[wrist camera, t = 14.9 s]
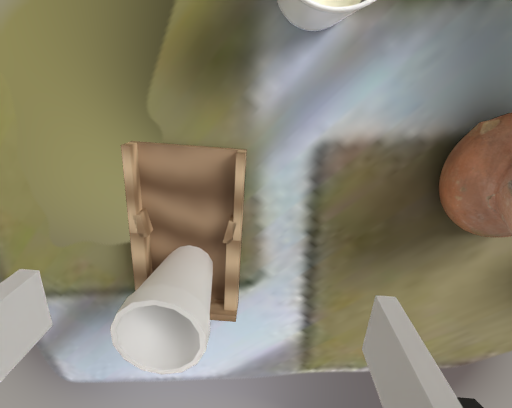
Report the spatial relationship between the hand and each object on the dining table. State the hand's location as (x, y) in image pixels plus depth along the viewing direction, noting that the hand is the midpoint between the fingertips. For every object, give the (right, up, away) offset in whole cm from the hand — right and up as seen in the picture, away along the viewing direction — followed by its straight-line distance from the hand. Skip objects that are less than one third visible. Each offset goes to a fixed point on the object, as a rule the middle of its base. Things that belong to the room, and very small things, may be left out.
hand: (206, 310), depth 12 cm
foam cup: (-7, -4, +29) cm, 30 cm away
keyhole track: (-7, +1, +28) cm, 29 cm away
